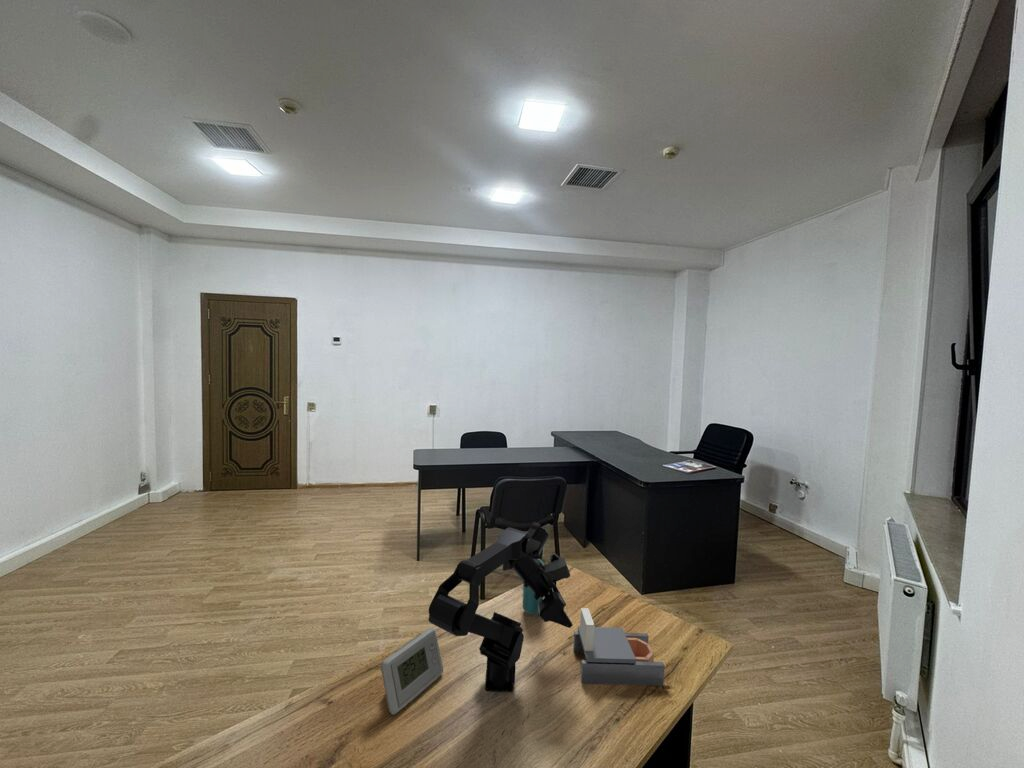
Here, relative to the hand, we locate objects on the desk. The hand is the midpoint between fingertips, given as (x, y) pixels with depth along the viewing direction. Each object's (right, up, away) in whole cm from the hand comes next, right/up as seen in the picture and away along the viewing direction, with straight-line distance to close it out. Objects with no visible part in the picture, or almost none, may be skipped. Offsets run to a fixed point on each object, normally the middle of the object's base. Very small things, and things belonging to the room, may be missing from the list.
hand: (567, 615), depth 105 cm
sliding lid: (+10, -8, 0) cm, 12 cm away
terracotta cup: (+17, -13, 0) cm, 22 cm away
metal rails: (+12, -13, 0) cm, 18 cm away
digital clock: (-37, -12, -10) cm, 40 cm away
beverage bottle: (-8, -12, +22) cm, 26 cm away
